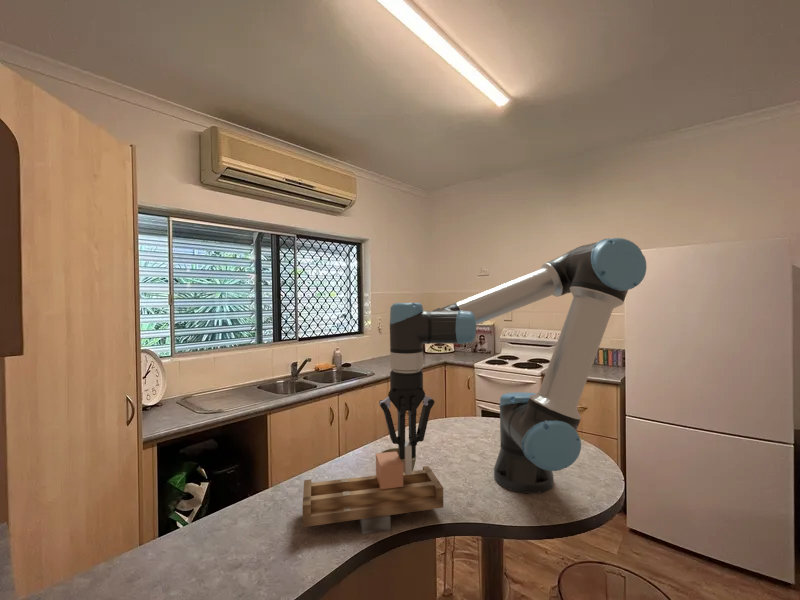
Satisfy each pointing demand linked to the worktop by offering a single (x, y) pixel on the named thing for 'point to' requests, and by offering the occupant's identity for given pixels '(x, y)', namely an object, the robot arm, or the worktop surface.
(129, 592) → the worktop surface
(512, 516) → the worktop surface
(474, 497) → the worktop surface
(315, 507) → the wooden crate
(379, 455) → the block
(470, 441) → the worktop surface
